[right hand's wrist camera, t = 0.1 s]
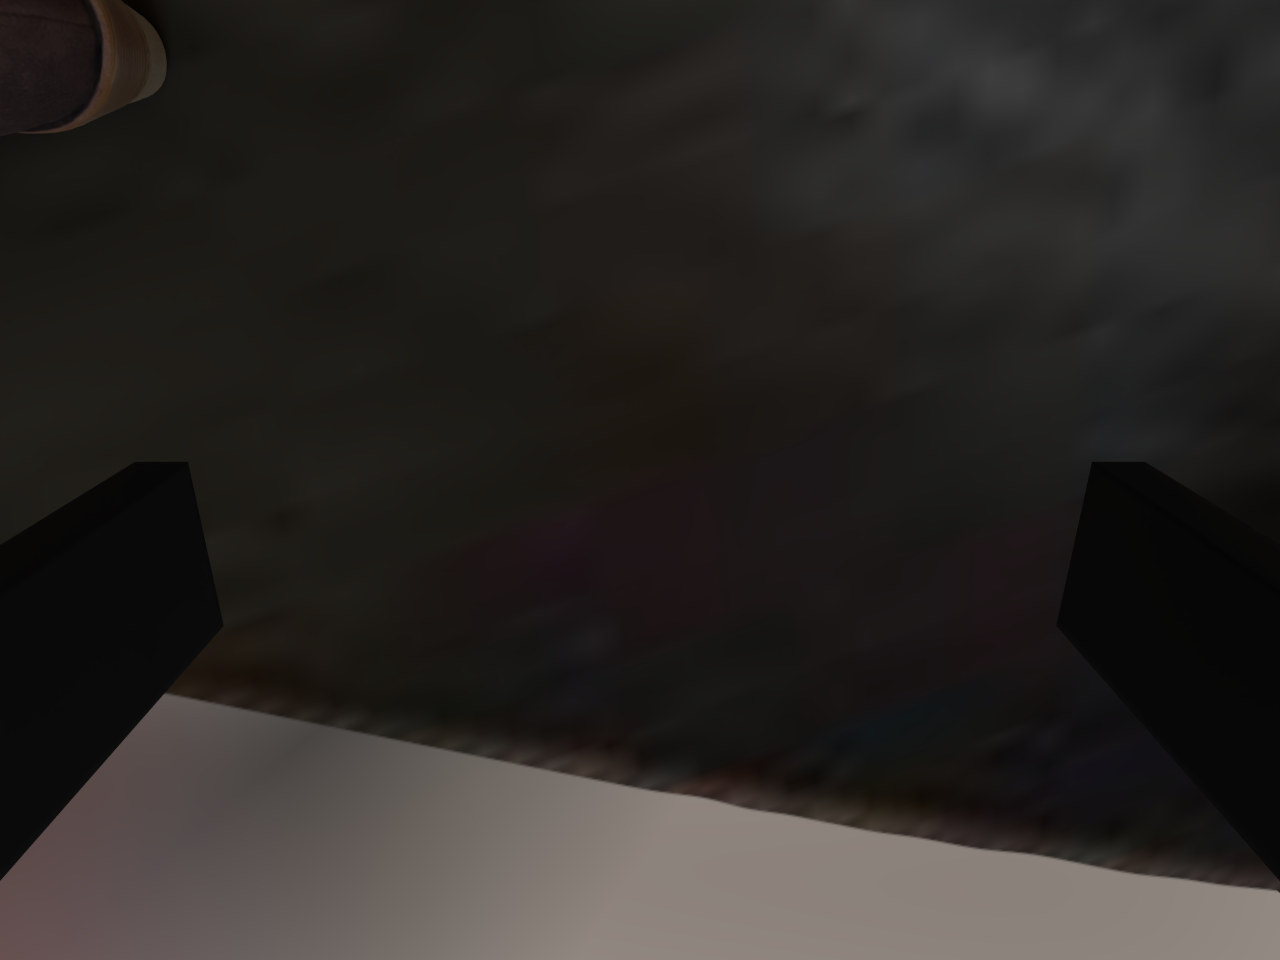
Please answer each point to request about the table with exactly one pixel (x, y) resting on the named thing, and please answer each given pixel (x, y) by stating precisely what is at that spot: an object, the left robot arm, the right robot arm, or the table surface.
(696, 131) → the table surface
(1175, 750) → the right robot arm
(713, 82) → the table surface
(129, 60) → the boot
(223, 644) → the table surface
